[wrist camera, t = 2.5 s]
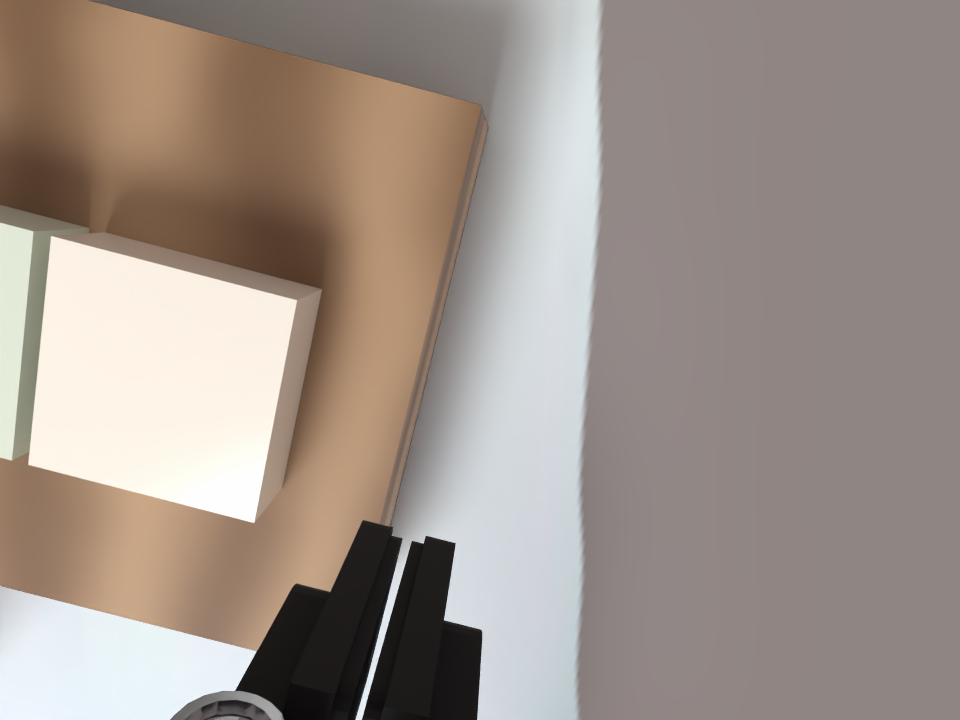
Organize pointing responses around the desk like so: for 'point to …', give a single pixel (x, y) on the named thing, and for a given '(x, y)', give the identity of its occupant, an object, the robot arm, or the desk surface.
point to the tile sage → (22, 318)
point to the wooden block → (245, 244)
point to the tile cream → (169, 373)
